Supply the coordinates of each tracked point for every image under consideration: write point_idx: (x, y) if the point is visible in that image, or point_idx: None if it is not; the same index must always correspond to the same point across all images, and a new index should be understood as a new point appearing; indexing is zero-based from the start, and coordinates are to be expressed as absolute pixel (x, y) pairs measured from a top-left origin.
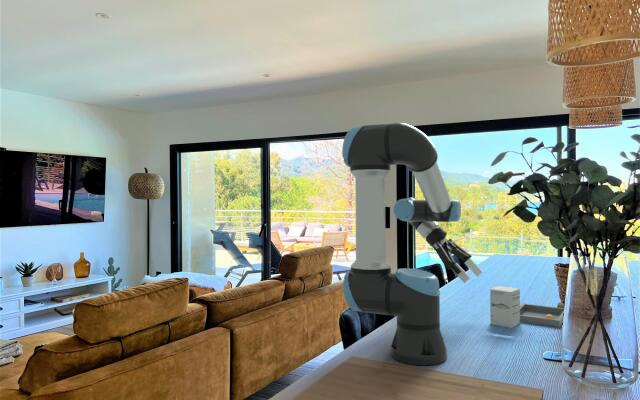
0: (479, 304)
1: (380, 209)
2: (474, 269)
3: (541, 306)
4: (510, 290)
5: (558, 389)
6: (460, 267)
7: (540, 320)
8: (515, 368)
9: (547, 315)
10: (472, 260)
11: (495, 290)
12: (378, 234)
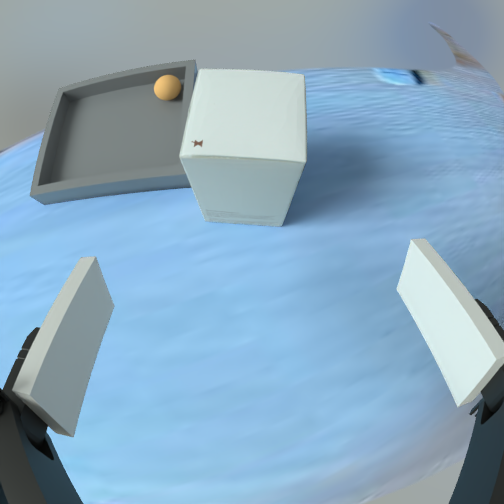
0: None
1: None
2: (87, 328)
3: (47, 142)
4: (277, 81)
5: (488, 79)
6: (479, 311)
7: None
8: (486, 121)
9: (170, 82)
10: (26, 358)
11: (306, 137)
12: None
